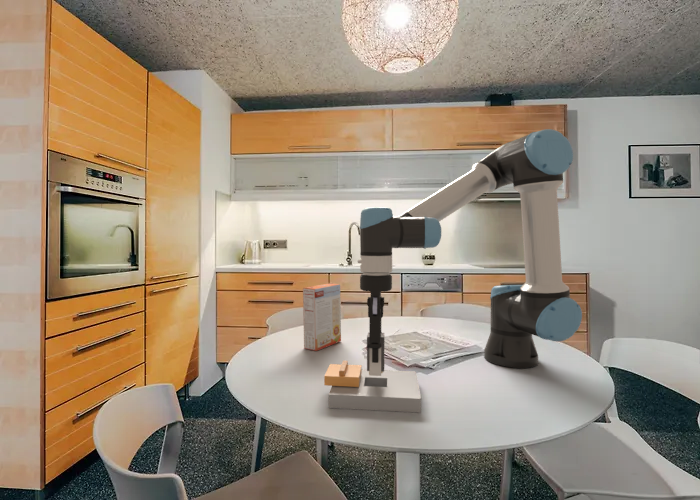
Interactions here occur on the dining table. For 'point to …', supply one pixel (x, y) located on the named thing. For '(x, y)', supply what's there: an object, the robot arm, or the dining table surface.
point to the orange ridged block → (343, 375)
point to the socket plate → (380, 393)
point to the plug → (381, 352)
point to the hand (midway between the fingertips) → (375, 371)
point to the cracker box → (321, 316)
